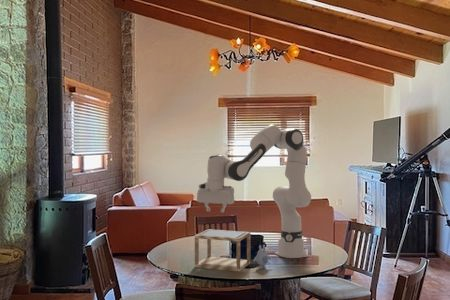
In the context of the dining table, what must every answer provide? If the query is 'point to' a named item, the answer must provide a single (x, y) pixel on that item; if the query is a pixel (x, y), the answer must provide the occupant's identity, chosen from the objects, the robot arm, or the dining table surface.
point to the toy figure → (262, 257)
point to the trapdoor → (223, 234)
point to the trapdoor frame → (218, 261)
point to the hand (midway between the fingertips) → (215, 211)
